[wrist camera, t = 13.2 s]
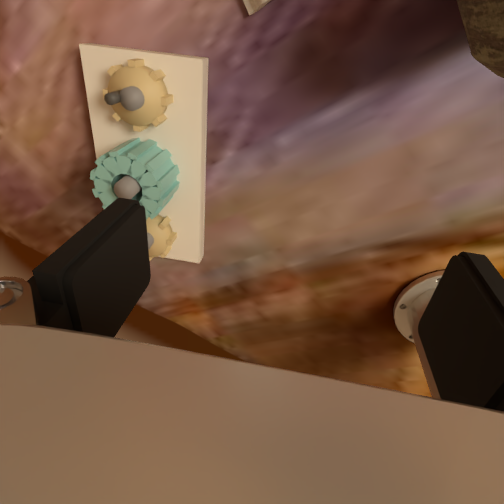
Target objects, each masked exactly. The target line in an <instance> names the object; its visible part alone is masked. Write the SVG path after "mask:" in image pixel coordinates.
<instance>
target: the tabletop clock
mask: <svg viewBox="0 0 504 504" xmlns="http://www.w3.org/2000/svg"><path fill="white" fill-rule="evenodd" d="M457 3H458V7H459V11H460V14H461V18H462V21H463V25H464V29H465V32H466V36H467V39H468V43H469V47H470V50H471V54H472V56H473V57H474V58H475V59H476V60H477V61H479V62H480V63H481V64H483V65H484V66H485V67H487V68H488V69H489V70H491V71H492V72H494V73H495V74H496V75H498V76H500V77H503V78H504V0H457Z"/></svg>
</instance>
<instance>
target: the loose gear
mask: <svg viewBox="0 0 504 504" xmlns="http://www.w3.org/2000/svg"><path fill="white" fill-rule="evenodd" d="M171 156H172V154H171V153H170V152H169V151H168V150H167V149H165V150H164V151H163V150H162V149H161V148H159V147H158V146H157V142H156V141H153V140H151V139H148V140H147V141H145V142H142V141H140V138H133V139H130V140H129V141H127V142H125V143H122V144H121V145H119V146H117V147H116V148H114V149H112V150H110V151H109V152H107V153H105V154H104V155H102V156H100V157H99V158H98V159H97V160H96V161H95V163H96V164H97V165H98V166H97V167H96V168H95V169H93V170H92V171H91V173H90V179H91V180H93V181H94V185H95V187H94V188H93V189H92V191H93V193H94V196H95V198H96V197H99V198H100V200H101V201H102V203H103V204H104V205H103V206H102V207H103V208H104V209H105V208H107V207H108V206H109V205H110V204H111V203H113V202H114V201H115V200H116V199H117V198H118V197H117V196H116V194H115V192H114V185H115V183H116V182H118V181H119V180H120V179H122V178H123V177H124V176H126V175H130V176H132V177H133V178H135V179H136V180H137V181H138V182H139V184H140V186H141V187H142V189H141V190H140V191H139V192H138V193H137V194H136V195H135V196H134V197H133V198H132V200H138V201H139V203H140V205H141V206H144V208H145V212H146V220H147V219H148V217H150V218H151V219H153V218H155V217H156V216H157V215H158V214H159V213H160V212H161V210H162V209H163V208H164V207H165V206H166V205H167V203H168V202H169V201H170V200H171V199H172V197H173V194H174V193H175V192H176V191H177V190H178V188H179V184H180V182H179V181H177V175H178V174H179V173H180V172H179V168H178V165H174V164H173V162H172V160H171V159H170V157H171Z"/></svg>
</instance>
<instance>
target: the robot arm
mask: <svg viewBox="0 0 504 504" xmlns="http://www.w3.org/2000/svg"><path fill="white" fill-rule="evenodd" d="M32 272H33V275H34V276H32V277H31V278H30V279H29V280H28V281H25V280H24V279H22V278H17V277H0V504H504V279H503V278H502V276H501V275H500V274H499V272H498V271H497V270H496V269H495V267H494V266H493V265H492V263H491V262H490V261H489V259H488V258H487V257H486V256H485V255H480V254H474V253H468V252H461V253H460V254H459V255H458V256H456V255H455V256H453V257H452V258H451V259H450V261H449V263H448V265H447V267H446V269H445V270H443V271H437V272H434V273H430V274H427V275H425V276H423V277H420V278H418V279H417V280H415V281H413V282H412V283H410V284H409V285H408V286H407V287H406V288H404V289H403V291H402V292H401V293H400V294H399V296H398V297H397V299H396V301H395V304H394V308H393V317H394V320H395V324H396V326H397V328H398V330H399V332H400V333H401V334H402V335H403V336H404V337H405V338H406V339H407V340H409V341H411V342H413V343H415V346H416V349H417V352H418V355H419V358H420V361H421V364H422V367H423V370H424V374H425V377H426V380H427V383H428V386H429V389H430V392H431V395H432V397H427V396H422V395H417V394H411V393H406V392H401V391H396V390H391V389H386V388H381V387H375V386H370V385H365V384H360V383H355V382H350V381H345V380H339V379H334V378H329V377H324V376H318V375H313V374H308V373H303V372H297V371H292V370H287V369H282V368H276V367H271V366H266V365H260V364H255V363H250V362H244V361H239V360H234V359H228V358H223V357H217V356H212V355H206V354H201V353H195V352H190V351H185V350H179V349H173V348H169V347H163V346H158V345H152V344H147V343H141V342H136V341H130V340H125V339H119V338H114V337H115V335H116V334H117V332H118V330H119V329H120V327H121V326H122V324H123V323H124V321H125V320H126V318H127V317H128V315H129V314H130V312H131V311H132V309H133V308H134V306H135V305H136V303H137V302H138V300H139V298H140V297H141V295H142V294H143V292H144V291H145V289H146V288H147V286H148V284H149V282H150V262H149V250H148V237H147V225H146V212H145V208H144V206H141V205H140V203H139V201H138V200H132V199H126V198H117V199H116V200H115V201H114V202H113V203H111V204H110V205H109V206H108V207H107V208H105V209H104V210H103V211H102V212H101V213H100V214H98V215H97V216H96V217H95V218H94V219H92V220H91V221H90V222H89V223H88V224H87V225H85V226H84V227H83V228H82V229H81V230H80V231H78V232H77V233H76V234H75V235H74V236H72V237H71V238H70V239H69V240H68V241H67V242H65V243H64V244H63V245H62V246H61V247H60V248H58V249H57V250H56V251H55V252H54V253H52V254H51V255H50V256H49V257H48V258H47V259H46V260H44V261H43V262H42V263H41V264H40V265H38V266H37V267H36V268H35V269H34V270H33V271H32Z"/></svg>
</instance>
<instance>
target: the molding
mask: <svg viewBox="0 0 504 504" xmlns="http://www.w3.org/2000/svg"><path fill="white" fill-rule="evenodd" d="M269 1H271V0H243V2H244V4H245V7H246V9H247V11H248V14H249V15H250V16H251V15H252V14H254V13H255V12H257V11H258V10H260V9H261V8H263V7H264V6H266V4H267V3H268V2H269Z"/></svg>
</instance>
